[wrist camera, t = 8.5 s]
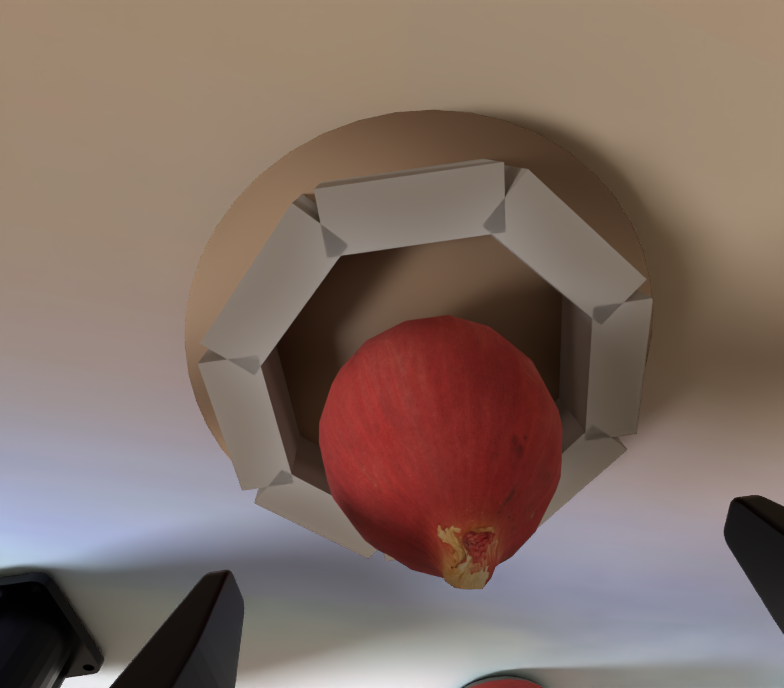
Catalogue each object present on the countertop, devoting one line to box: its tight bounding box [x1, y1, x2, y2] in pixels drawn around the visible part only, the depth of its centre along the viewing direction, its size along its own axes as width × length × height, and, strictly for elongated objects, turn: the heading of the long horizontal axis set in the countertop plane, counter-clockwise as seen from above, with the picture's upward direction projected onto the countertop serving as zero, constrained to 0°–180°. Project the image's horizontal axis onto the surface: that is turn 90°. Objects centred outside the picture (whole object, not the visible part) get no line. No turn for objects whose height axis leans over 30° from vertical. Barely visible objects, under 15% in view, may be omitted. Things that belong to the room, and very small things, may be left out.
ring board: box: [185, 110, 653, 561], centre depth 14 cm, size 15×15×4 cm
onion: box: [319, 315, 562, 589], centre depth 11 cm, size 6×6×8 cm
